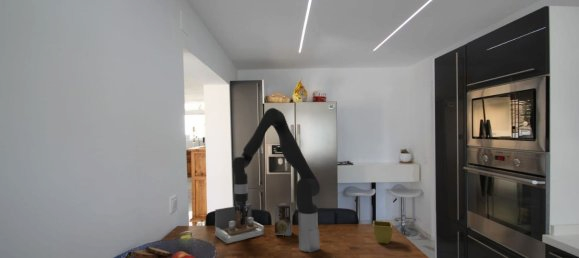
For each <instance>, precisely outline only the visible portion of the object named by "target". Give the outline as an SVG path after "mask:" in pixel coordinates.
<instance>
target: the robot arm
mask: <svg viewBox="0 0 579 258" xmlns="http://www.w3.org/2000/svg"><path fill="white" fill-rule="evenodd" d="M270 127H273V128H274V130H275V132H276V133H277V136H278V140H279V147H280V151H281V153H282V155H283V158H284V159H285V161H286V162H287V164H289V165H290V166H291V167H292V168H293V169H294V170H295V171H296V172H297V174H298V175H299V177H300V178H299V180H298V181H297V182H296V185H295V199H296V201H295V202H296V206H297V209H298V216H297V217H298V249H299V250H300V251H301V252H305V253H307V252H308V253H313V252H316V251H318V250H321V249H320V229H319V228H318V225H319V224H318V223H319V222H318V205H316V204H314V203H313V202H314V201H313V197H315V196H317V195H319V193H320V191H321V185H320V183H319V181H318V178H317V177H316V175H315V174H314V172H313V171H312V169H311V168H310V165H309V164H308V161H306V159H305V157H304V154H303V152H302V150H301V148H300V146H299V144H298V142H297V140H296V139H295V137H294V135H293V133H292V131H291V129H290V127H289V125H288V122H287V119H286V116H285V115H284V113H283V112H282V111H281V110H279V109H277V108H275V107H269V108H268V109H266V111H264V113H263V116H262V117H261V119H260V122H259V123H258V126H257V127H256V129H255V130H254V133H253V135H252V136H251V137H250V139H249V140H248V142H247V143H246V144H245V146H244V147H243V152H242V154H241V155H239V156H235V157H234V158H233V160H232V170H233V174H234V189H233V190H234V191H233V193H234V194H233V196H234V197H233V200H234V202H236V203H234V204H233V205H234V206H235V212H236V211H239V212H240V216H241V225H244V224H245V217H247V214H248V209H249V207H246V204H247V203H246V202H247V201H248V200H249V185H248V182H249V181H248V173H247V172H246V170H245V169H246V168H248V166H249V165H250V164H251V162H252V160H253V158H254V155H256V153H257V152H258V150H260V148H261V146H262V144H263V142H264V138H265V135H266V133H267V131H268V130H269V129H270ZM234 206H233V207H234ZM241 211H243V212H241ZM242 213H243V214H242Z"/></svg>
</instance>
